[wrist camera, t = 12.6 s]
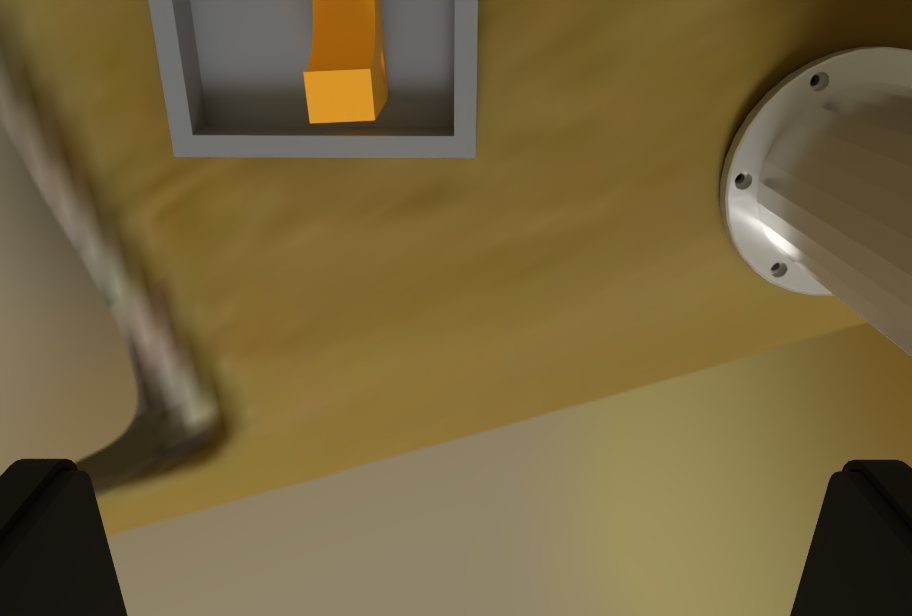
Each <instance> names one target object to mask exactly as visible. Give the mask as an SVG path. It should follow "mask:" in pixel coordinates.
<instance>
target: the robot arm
mask: <svg viewBox="0 0 912 616" xmlns="http://www.w3.org/2000/svg"><path fill="white" fill-rule="evenodd" d="M814 75H815V81H814V83H812V84H811V85H810V81H811V79H812V77H813V76H814ZM740 173H741V178H740V179H739V180H738V181H735V179H736V177H737V176H738V175H739V174H740ZM720 208H721V214H722V219H723V225H724V228H725V230H726V232H727V235H728V237H729V239H730V242H731V244H732V245H733V247H734V248H735V250H736V251H737V252H738V254H739V255H740V256H741V258H742V259H743V260H744V261H745V262H746V263H747V264H748V265H749V266H750V267H751V268H752V269H753V270H754V271H755V272H756V273H758V274H759V275H760V276H762V277H763V278H765V279H766V280H767V281H769V282H771V283H772V284H775V285H777V286H780V287H782V288H785V289H787V290H790V291H793V292H798V293H803V294H809V295H835V296H836V297H838V298H839V299H840V300H841V301H843V302H844V303H845V304H846V305H848V306H849V307H850V308H851V309H853V310H854V311H855V312H856V313H858V314H859V315H860V316H861V317H863V318H864V319H865V320H866V321H868V322H869V323H870V324H872V325H873V326H874V327H875V328H877V329H878V330H879V331H880V332H882V333H883V334H884V335H885V336H887V337H888V338H889V339H890V340H892V341H893V342H894V343H896V344H897V345H898V346H899V347H901V348H902V349H903V350H904V351H906V352H907V353H908V354H909V355H911V356H912V50H908V49H901V48H894V47H869V46H863V47H857V48H852V49H847V50H842V51H837V52H834V53H832V54H829V55H826V56H824V57H821V58H819V59H816V60H813V61H811V62H809V63H808V64H806V65H804V66H803V67H801V68H799V69H798V70H796V71H794V72H793V73H791V74H789V75H788V76H786V77H785V78H784V79H783V80H782V81H780V82H779V83H778V84H777V85H776V86H774V87H773V88H772V89H771V90H770V91H769V92H767V93H766V94H765V96H764V97H763V98H762V99H761V100H760V101H759V102H758V104H757V105H756V106H755V107H754V108H753V109H752V110H751V112H750V113H749V114H748V116H747V117H746V119H745V120H744V122H743V124H742V125H741V127H740V128H739V130H738V132H737V133H736V135H735V137H734V139H733V142H732V144H731V147H730V149H729V151H728V154H727V156H726V159H725V163H724V168H723V172H722V177H721V181H720ZM774 264H775V266H774V267H772V266H773V265H774ZM0 616H127V613H126V608H125V605H124V601H123V597H122V594H121V590H120V586H119V583H118V579H117V575H116V571H115V568H114V564H113V560H112V556H111V553H110V549H109V545H108V542H107V538H106V534H105V530H104V527H103V523H102V519H101V516H100V512H99V508H98V504H97V501H96V497H95V493H94V490H93V486H92V482H91V479H90V477H89V475H88V474H87V473H86V472H85V471H78V469H77V466H76V465H75V464H74V462H72V460H68V459H21V460H17V461H15V462H14V463H13V464H12V465H10V466H9V467H8V469H7V470H6V471H5V472H4V473H3V474H2V475H1V476H0ZM790 616H912V468H911V467H909V466H908V465H907V464H906V463H904V462H902V461H899V460H852V461H848V463H846V464H845V465H844V467H843V469H842V471H839V472H835V473H834V474H833V475H832V476H831V478H830V480H829V483H828V487H827V490H826V494H825V497H824V501H823V504H822V508H821V511H820V515H819V518H818V522H817V525H816V528H815V532H814V535H813V539H812V542H811V546H810V549H809V553H808V556H807V560H806V563H805V566H804V570H803V573H802V577H801V580H800V584H799V587H798V591H797V594H796V598H795V601H794V604H793V608H792V611H791V615H790Z"/></svg>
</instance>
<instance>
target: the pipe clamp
mask: <svg viewBox="0 0 912 616" xmlns="http://www.w3.org/2000/svg"><path fill="white" fill-rule="evenodd" d="M303 75H304V82H305V90H306V98H307V105H308V113H309V120H310V123H331V122H352V121H374V120H376V118H377V116H378V115H379V113H380V111H381V110H382V108H383V106H384V104H385V103H386V101H387V99H388V98H389V97H388V85H387V73H386V60H385V48H384V36H383V24H382V12H381V0H313V39H312V49H311V56H310V60H309V64H308V66H307V68H306V70H305V71H304V72H303Z"/></svg>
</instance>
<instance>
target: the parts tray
mask: <svg viewBox="0 0 912 616" xmlns="http://www.w3.org/2000/svg"><path fill="white" fill-rule="evenodd" d="M148 1H149V7H150V13H151V19H152V25H153V31H154V37H155V43H156V49H157V56H158V62H159V68H160V74H161V80H162V86H163V92H164V98H165V104H166V110H167V116H168V122H169V128H170V134H171V140H172V146H173V152H174V157H318V158H476V98H477V38H478V0H381V12H382V24H383V36H384V48H385V60H386V73H387V85H388V97H389V98H388V99H387V101H386V103H385V104H384V106H383V108H382V110H381V111H380V113H379V115H378V116H377V118H376V120H374V121H352V122H331V123H310V120H309V113H308V105H307V98H306V90H305V82H304V75H303V72H304V71H305V70H306V68H307V66H308V64H309V60H310V56H311V49H312V39H313V0H148Z"/></svg>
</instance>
